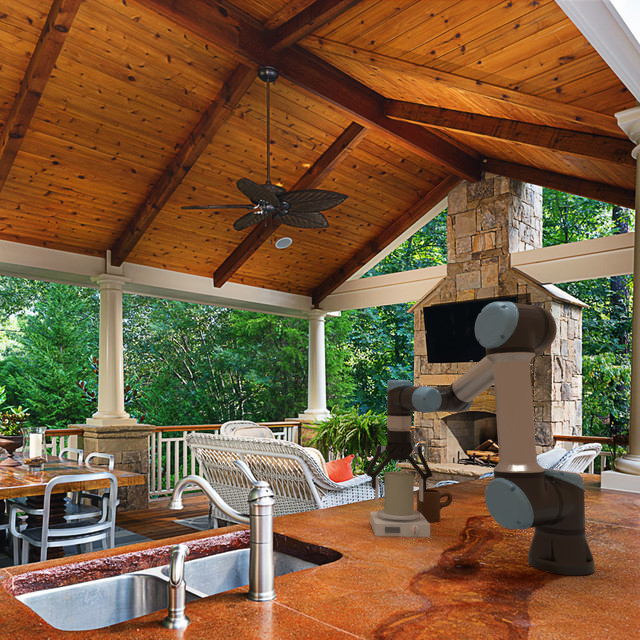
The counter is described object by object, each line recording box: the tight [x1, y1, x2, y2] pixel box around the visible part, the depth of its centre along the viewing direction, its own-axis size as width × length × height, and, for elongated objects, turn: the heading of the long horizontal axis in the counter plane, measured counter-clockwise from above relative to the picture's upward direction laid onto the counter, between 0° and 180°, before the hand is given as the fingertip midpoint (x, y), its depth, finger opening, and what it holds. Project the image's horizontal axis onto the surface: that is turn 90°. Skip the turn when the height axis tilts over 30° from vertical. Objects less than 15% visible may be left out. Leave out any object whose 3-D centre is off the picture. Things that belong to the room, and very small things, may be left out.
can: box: [383, 471, 415, 516], centre depth 177 cm, size 9×9×12 cm
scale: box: [369, 508, 431, 538], centre depth 175 cm, size 16×16×5 cm
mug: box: [416, 488, 453, 523], centre depth 190 cm, size 12×8×9 cm, turn 98°
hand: (398, 500), depth 176 cm, fingers open, 13 cm apart
